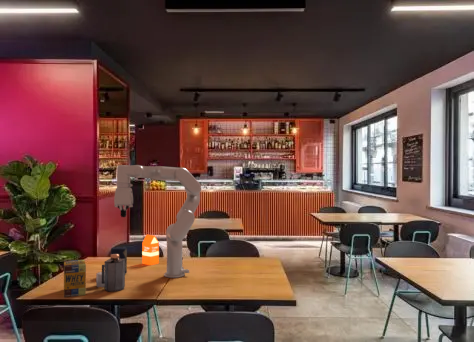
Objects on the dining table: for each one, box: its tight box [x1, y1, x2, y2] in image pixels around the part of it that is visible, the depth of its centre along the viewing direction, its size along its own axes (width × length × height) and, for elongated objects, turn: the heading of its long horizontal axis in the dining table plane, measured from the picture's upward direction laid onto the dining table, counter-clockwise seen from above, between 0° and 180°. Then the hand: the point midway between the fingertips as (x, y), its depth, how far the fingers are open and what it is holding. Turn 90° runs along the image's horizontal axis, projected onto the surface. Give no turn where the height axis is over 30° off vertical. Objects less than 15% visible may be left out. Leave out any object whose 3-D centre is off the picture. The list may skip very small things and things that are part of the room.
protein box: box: [63, 259, 87, 298], centre depth 209 cm, size 10×15×16 cm
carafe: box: [101, 258, 126, 293], centre depth 215 cm, size 12×10×16 cm
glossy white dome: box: [95, 271, 105, 288], centre depth 221 cm, size 7×7×7 cm
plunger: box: [110, 253, 119, 262], centre depth 215 cm, size 7×7×13 cm
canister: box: [110, 245, 128, 275], centre depth 246 cm, size 10×10×18 cm
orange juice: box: [141, 234, 160, 266], centre depth 278 cm, size 8×9×20 cm
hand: (123, 216), depth 234 cm, fingers closed
